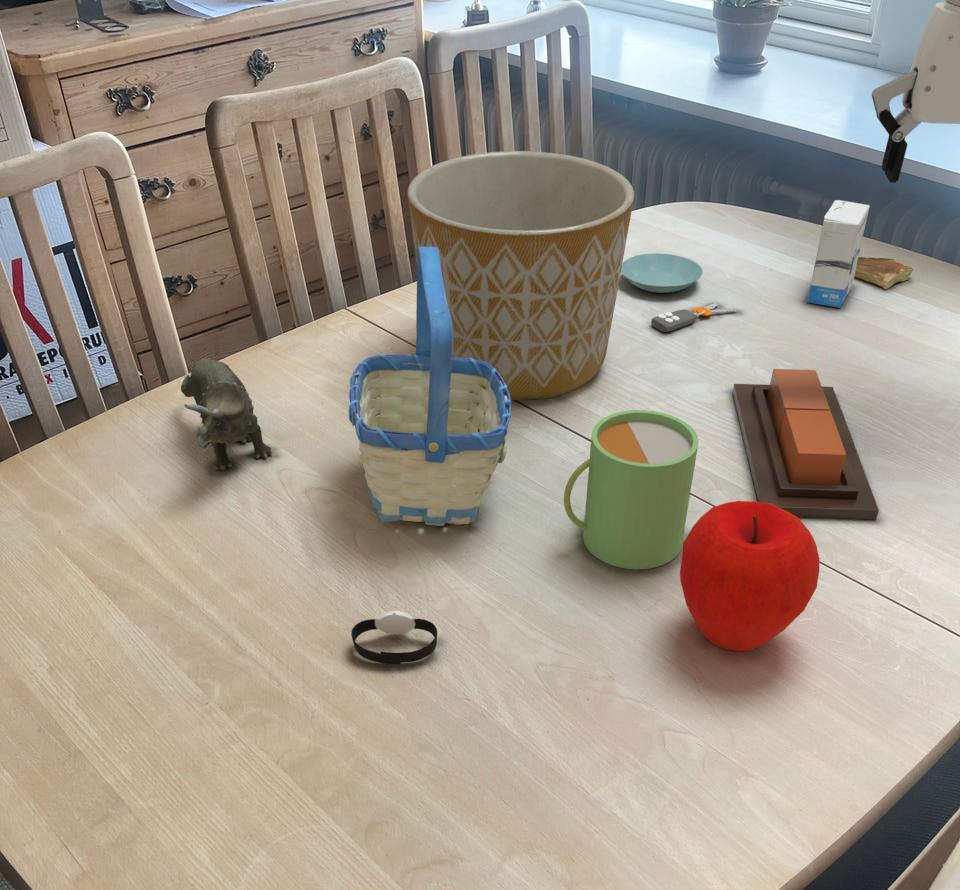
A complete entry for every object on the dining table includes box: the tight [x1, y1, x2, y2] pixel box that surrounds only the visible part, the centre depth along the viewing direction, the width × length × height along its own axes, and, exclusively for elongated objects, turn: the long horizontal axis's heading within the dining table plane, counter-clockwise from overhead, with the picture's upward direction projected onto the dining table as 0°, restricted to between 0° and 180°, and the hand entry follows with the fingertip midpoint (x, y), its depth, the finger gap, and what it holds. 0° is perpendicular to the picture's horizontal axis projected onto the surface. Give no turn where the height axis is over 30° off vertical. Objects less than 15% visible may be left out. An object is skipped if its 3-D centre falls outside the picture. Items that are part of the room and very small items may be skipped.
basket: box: [348, 247, 512, 527], centre depth 106 cm, size 21×16×24 cm
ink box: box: [806, 199, 870, 308], centre depth 146 cm, size 9×5×12 cm, turn 154°
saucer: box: [621, 252, 704, 294], centre depth 152 cm, size 12×12×2 cm
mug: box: [563, 409, 700, 570], centre depth 103 cm, size 13×10×12 cm
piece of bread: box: [854, 256, 914, 290], centre depth 155 cm, size 11×8×2 cm
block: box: [779, 409, 846, 485], centre depth 114 cm, size 9×5×4 cm, turn 176°
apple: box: [679, 500, 821, 652], centre depth 92 cm, size 12×12×13 cm
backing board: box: [732, 368, 880, 520], centre depth 118 cm, size 26×12×5 cm, turn 176°
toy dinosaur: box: [180, 357, 273, 471], centre depth 117 cm, size 22×8×11 cm, turn 18°
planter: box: [407, 150, 635, 401], centre depth 128 cm, size 26×26×22 cm
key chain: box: [651, 302, 739, 333], centre depth 144 cm, size 13×4×2 cm, turn 123°
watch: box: [350, 610, 438, 665], centre depth 94 cm, size 8×5×4 cm, turn 91°
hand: (937, 179), depth 110 cm, fingers open, 9 cm apart
